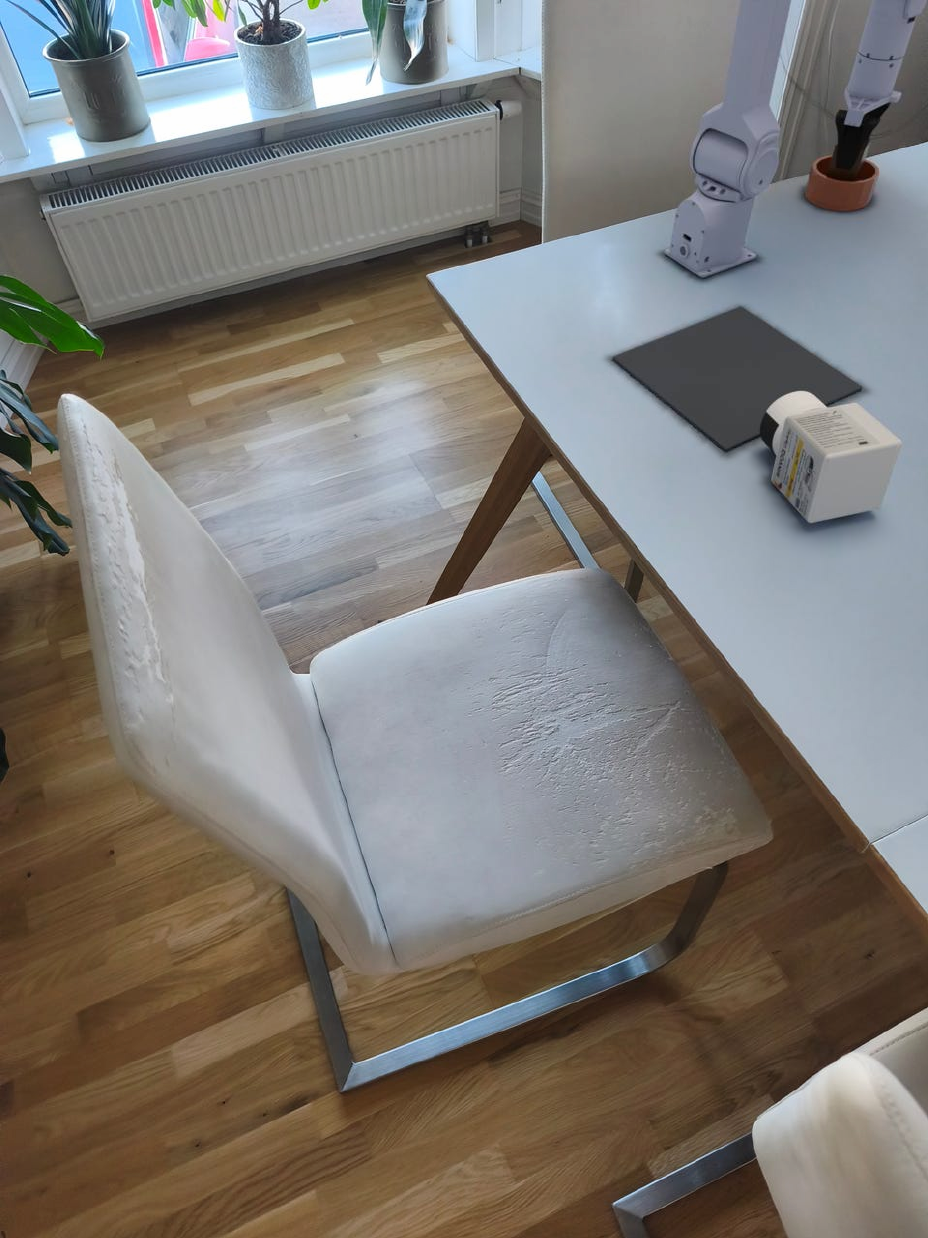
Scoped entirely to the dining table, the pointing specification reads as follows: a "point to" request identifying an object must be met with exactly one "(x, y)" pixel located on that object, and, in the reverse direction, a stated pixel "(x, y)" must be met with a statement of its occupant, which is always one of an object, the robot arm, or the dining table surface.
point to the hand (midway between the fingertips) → (847, 161)
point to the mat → (731, 374)
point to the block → (856, 169)
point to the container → (828, 456)
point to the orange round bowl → (840, 187)
